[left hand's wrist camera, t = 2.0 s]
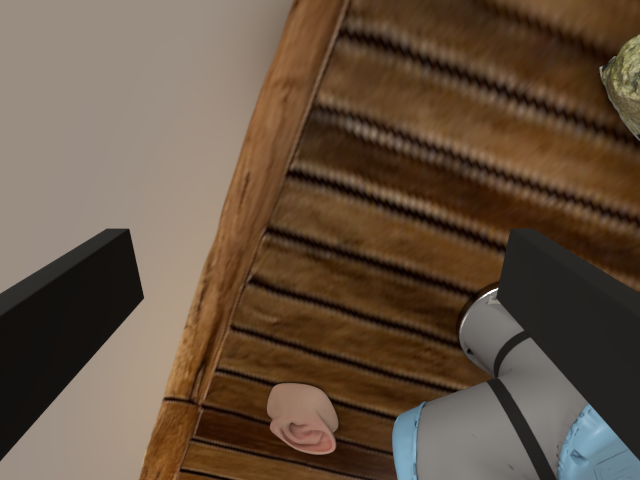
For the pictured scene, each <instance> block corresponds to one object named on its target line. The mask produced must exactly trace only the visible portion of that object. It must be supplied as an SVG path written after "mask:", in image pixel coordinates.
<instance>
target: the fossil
mask: <svg viewBox="0 0 640 480" xmlns="http://www.w3.org/2000/svg"><path fill="white" fill-rule="evenodd" d="M600 75H601V80H602V83H603V84H604V85H605V88H606V90H607V93H608V97H609V99H610V101H611V102H612V104H613V106H614V108H615V109H616V110H617V111H618V113H619V115H620V118H621V120H622V121H623V122H624V123H625V125H626V126H627V127H628V129H629V130H630V131H631V132H632V134H633V135H634V136H635V137H636V138H637V139H638V140H640V34H639V35H637V36H635V37H634V38H632V39H631V40H629V41H627V42H626V43H625V44H624V45H623V46H622V47H621V49H620V51H619V53H618V55H617V56H616V57H613V58H612V59H611V60H610V61H609V62H608V63H607V64H606V65H604V66H602V67H600Z"/></svg>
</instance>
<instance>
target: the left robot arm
mask: <svg viewBox="0 0 640 480" xmlns="http://www.w3.org/2000/svg"><path fill="white" fill-rule="evenodd" d="M143 299H144V295H143V291H142V286H141V281H140V277H139V272H138V267H137V263H136V258H135V253H134V249H133V244H132V239H131V235H130V230H129V229H106V230H104V231H102V232H101V233H99V234H97V235H96V236H94V237H93V238H91V239H89V240H88V241H86V242H84V243H83V244H81V245H79V246H78V247H76V248H75V249H73V250H71V251H70V252H68V253H66V254H65V255H63V256H61V257H60V258H58V259H56V260H55V261H53V262H52V263H50V264H48V265H47V266H45V267H43V268H42V269H40V270H38V271H37V272H35V273H33V274H32V275H30V276H29V277H27V278H25V279H24V280H22V281H20V282H19V283H17V284H16V285H14V286H12V287H10V288H9V289H7V290H6V291H4V292H2V293H1V294H0V461H1V460H2V459H3V457H4V456H5V455H6V454H7V453H8V452H9V451H10V450H11V448H12V447H13V446H14V445H15V444H16V443H17V442H18V440H19V439H20V438H21V437H22V436H23V435H24V434H25V433H26V431H27V430H28V429H29V428H30V427H31V426H32V425H33V424H34V422H35V421H36V420H37V419H38V418H39V417H40V415H41V414H42V413H43V412H44V411H45V410H46V409H47V408H48V407H49V405H50V404H51V403H52V402H53V401H54V400H55V399H56V397H57V396H58V395H59V394H60V393H61V392H62V391H63V390H64V388H65V387H66V386H67V385H68V384H69V383H70V382H71V380H72V379H73V378H74V377H75V376H76V375H77V374H78V373H79V371H80V370H81V369H82V368H83V367H84V366H85V365H86V363H87V362H88V361H89V360H90V359H91V358H92V357H93V355H94V354H95V353H96V352H97V351H98V350H99V349H100V347H101V346H102V345H103V344H104V343H105V342H106V341H107V340H108V339H109V337H110V336H111V335H112V334H113V333H114V332H115V331H116V329H117V328H118V327H119V326H120V325H121V324H122V323H123V321H124V320H125V319H126V318H127V317H128V316H129V315H130V314H131V312H132V311H133V310H134V309H135V308H136V307H137V306H138V304H139V303H140V302H141V301H142V300H143ZM456 335H457V339H458V342H459V344H460V346H461V348H462V349H463V351H464V353H465V355H466V356H467V357H468V358H469V359H470V360H471V361H472V362H473V363H474V364H476V365H477V366H478V367H479V368H481V369H482V370H483V371H485V372H486V373H487V374H489V375H490V376H491V377H492V378H494V379H492V380H489V381H486V382H483V383H481V384H478V385H475V386H472V387H469V388H466V389H464V390H461V391H458V392H455V393H452V394H449V395H447V396H444V397H441V398H438V399H435V400H432V401H429V402H427V401H425V402H423V403H422V404H420V406H418V407H416V408H413V409H411V410H408V411H406V412H404V413H402V414H400V415H399V416H398V418H397V419H396V421H395V424H394V428H393V435H392V442H393V454H394V461H395V467H396V472H397V478H398V480H640V294H639V293H638V292H636V291H634V290H633V289H631V288H630V287H628V286H626V285H625V284H623V283H621V282H620V281H618V280H616V279H615V278H613V277H611V276H610V275H608V274H607V273H605V272H603V271H602V270H600V269H598V268H597V267H595V266H593V265H592V264H590V263H589V262H587V261H585V260H584V259H582V258H580V257H579V256H577V255H575V254H574V253H572V252H570V251H569V250H567V249H566V248H564V247H562V246H561V245H559V244H557V243H556V242H554V241H552V240H551V239H549V238H547V237H546V236H544V235H543V234H541V233H539V232H538V231H536V230H534V229H511V230H510V235H509V239H508V244H507V249H506V253H505V258H504V263H503V267H502V272H501V277H500V281H499V282H497V283H494V284H491V285H489V286H487V287H485V288H483V289H482V290H480V291H479V292H477V293H476V294H475V295H474V296H472V297H471V298H470V299H469V300H468V302H467V303H466V304H465V305H464V307H463V308H462V310H461V312H460V314H459V316H458V319H457V324H456Z"/></svg>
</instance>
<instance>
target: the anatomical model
mask: <svg viewBox="0 0 640 480" xmlns="http://www.w3.org/2000/svg"><path fill="white" fill-rule="evenodd" d="M267 413H268V415H269V416H270V417H271V418H272V419H273V420H272V422H271V424H270V429H271V431H272V432H273V433H274V434H275V435H277V436H278V437H279V438H280V439H282V440H283V441H284V442H285V443H287V444H288V445H290V446H291V447H293V448H295V449H297V450H299V451H302V452H306V453H310V454H327V453H331V452H333V451H334V450H335V448H336V441H335V437H334V435H333V432H335V431H336V429H337V428H338V418H337V415H336V412H335V410H334V408H333V406H332V403H331V402H330V400H329V398H328V397H327V395H326V394H325V393H324V392H323V391H322V390H320V389H318V388H316V387H314V386H310V385H305V384H297V383H282V384H278V385H276V386H274V387H273V389H272V391H271V393H270V396H269V399H268V404H267Z"/></svg>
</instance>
